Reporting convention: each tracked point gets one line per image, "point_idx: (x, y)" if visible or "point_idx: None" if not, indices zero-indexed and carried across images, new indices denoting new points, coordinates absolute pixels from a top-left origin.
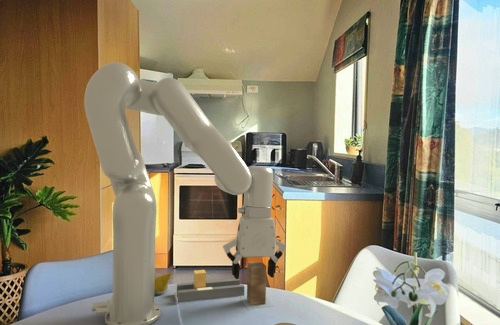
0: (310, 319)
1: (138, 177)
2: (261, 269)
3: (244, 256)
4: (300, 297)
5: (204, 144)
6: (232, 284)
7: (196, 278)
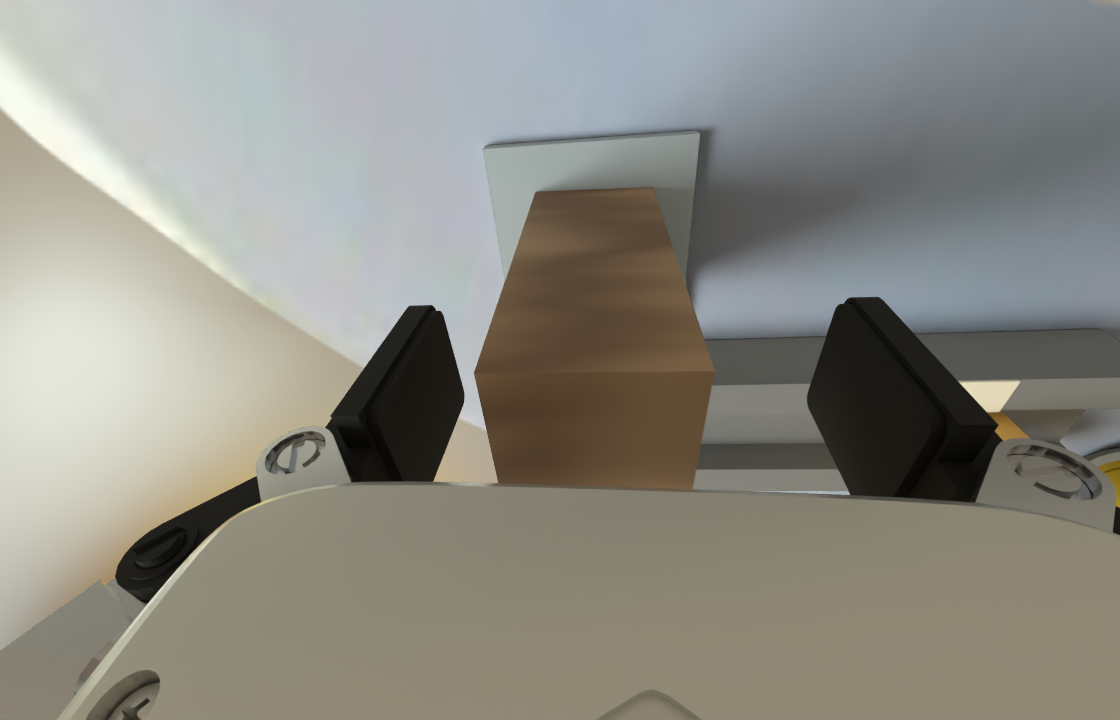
0: None
1: None
2: (553, 346)
3: (1036, 515)
4: (273, 272)
5: None
6: None
7: None
